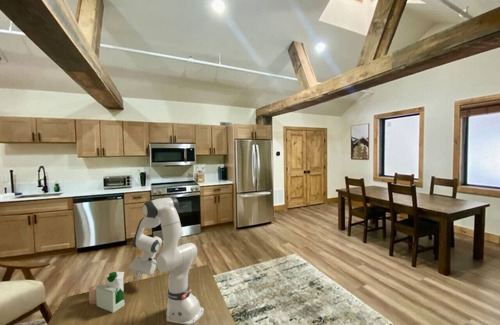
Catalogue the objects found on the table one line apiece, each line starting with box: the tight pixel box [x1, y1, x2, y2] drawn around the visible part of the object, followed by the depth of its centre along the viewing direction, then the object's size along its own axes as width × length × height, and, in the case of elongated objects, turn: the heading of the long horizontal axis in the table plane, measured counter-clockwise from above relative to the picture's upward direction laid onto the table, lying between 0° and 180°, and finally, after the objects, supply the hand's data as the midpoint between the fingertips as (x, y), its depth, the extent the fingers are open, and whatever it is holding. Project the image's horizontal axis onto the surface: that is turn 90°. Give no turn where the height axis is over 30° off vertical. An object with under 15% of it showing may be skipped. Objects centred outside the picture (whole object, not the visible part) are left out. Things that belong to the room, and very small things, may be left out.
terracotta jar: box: [88, 284, 97, 305], centre depth 144 cm, size 6×6×9 cm
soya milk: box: [104, 271, 125, 304], centre depth 143 cm, size 9×9×20 cm
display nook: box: [95, 283, 125, 314], centre depth 140 cm, size 15×8×13 cm, turn 67°
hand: (135, 278), depth 157 cm, fingers closed
